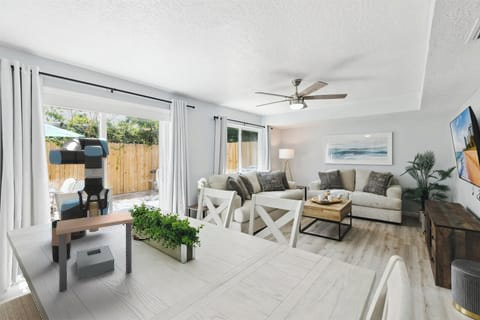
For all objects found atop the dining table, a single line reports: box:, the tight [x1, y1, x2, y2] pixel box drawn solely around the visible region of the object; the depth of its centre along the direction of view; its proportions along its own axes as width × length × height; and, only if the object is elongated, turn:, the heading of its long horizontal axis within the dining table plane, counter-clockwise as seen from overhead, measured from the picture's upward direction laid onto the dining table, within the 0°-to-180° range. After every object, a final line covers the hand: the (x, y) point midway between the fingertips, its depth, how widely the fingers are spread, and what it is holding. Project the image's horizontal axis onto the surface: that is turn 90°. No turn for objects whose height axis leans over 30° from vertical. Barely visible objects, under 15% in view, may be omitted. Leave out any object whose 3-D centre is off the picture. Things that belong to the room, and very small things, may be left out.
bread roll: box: [132, 234, 140, 241], centre depth 147 cm, size 11×11×5 cm
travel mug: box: [51, 219, 72, 264], centre depth 115 cm, size 8×8×20 cm
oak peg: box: [88, 202, 100, 233], centre depth 112 cm, size 4×4×14 cm
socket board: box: [75, 244, 115, 280], centre depth 110 cm, size 20×14×5 cm
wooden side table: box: [56, 211, 135, 293], centre depth 102 cm, size 15×28×25 cm, turn 128°
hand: (93, 223), depth 112 cm, fingers closed on oak peg, 4 cm apart
